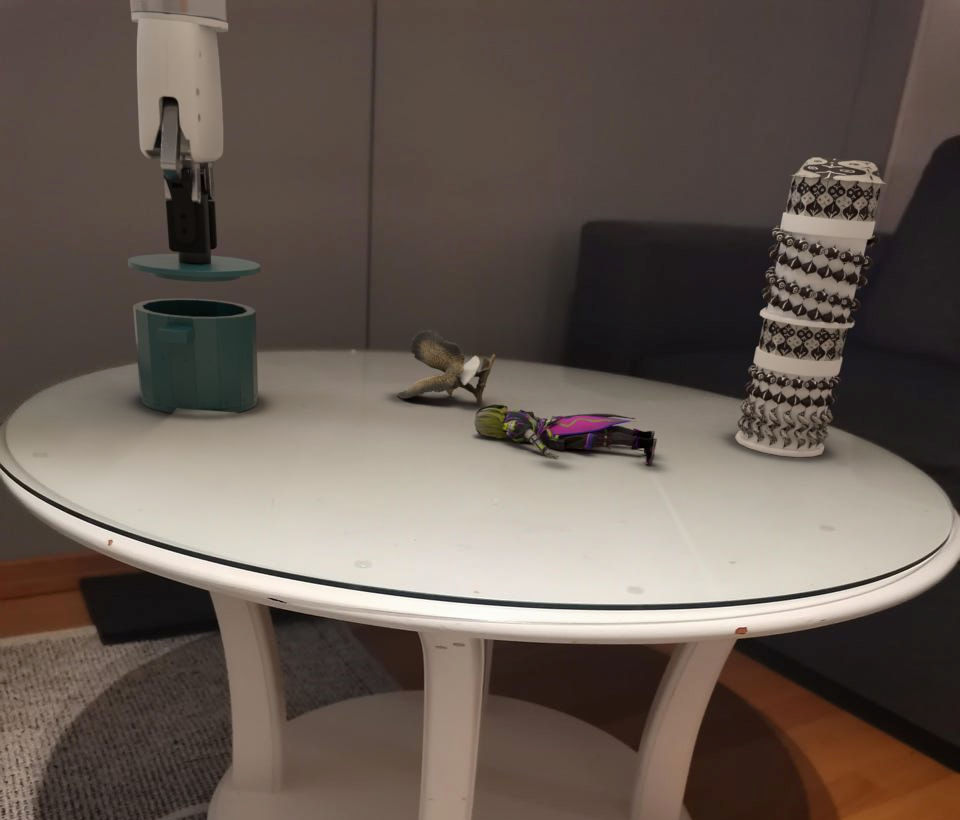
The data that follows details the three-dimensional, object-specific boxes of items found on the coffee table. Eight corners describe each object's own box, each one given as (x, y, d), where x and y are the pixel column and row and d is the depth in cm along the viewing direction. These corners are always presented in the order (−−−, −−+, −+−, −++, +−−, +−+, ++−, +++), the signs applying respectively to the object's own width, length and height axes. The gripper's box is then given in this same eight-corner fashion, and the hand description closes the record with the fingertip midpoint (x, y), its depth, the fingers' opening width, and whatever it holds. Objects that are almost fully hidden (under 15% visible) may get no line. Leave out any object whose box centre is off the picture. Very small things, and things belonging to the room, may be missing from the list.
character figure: (646, 449, 91) (477, 425, 91) (654, 409, 89) (481, 385, 90) (653, 479, 83) (467, 452, 83) (662, 436, 81) (472, 409, 81)
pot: (116, 417, 85) (107, 317, 81) (167, 378, 99) (161, 291, 96) (238, 427, 86) (234, 327, 82) (271, 386, 100) (269, 299, 96)
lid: (110, 278, 82) (102, 191, 79) (150, 263, 92) (144, 185, 89) (246, 288, 83) (243, 202, 80) (271, 272, 93) (269, 195, 90)
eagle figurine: (489, 382, 104) (409, 358, 104) (501, 332, 98) (415, 306, 98) (473, 434, 101) (389, 409, 100) (484, 386, 94) (395, 359, 94)
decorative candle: (751, 426, 101) (806, 157, 89) (840, 446, 96) (910, 165, 85) (716, 442, 94) (770, 153, 82) (809, 464, 89) (881, 161, 78)
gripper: (161, 13, 85) (175, 238, 94) (97, -13, 71) (121, 257, 79) (247, 20, 86) (254, 244, 94) (201, -4, 71) (214, 263, 79)
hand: (193, 248), depth 86 cm, fingers closed on lid, 2 cm apart
